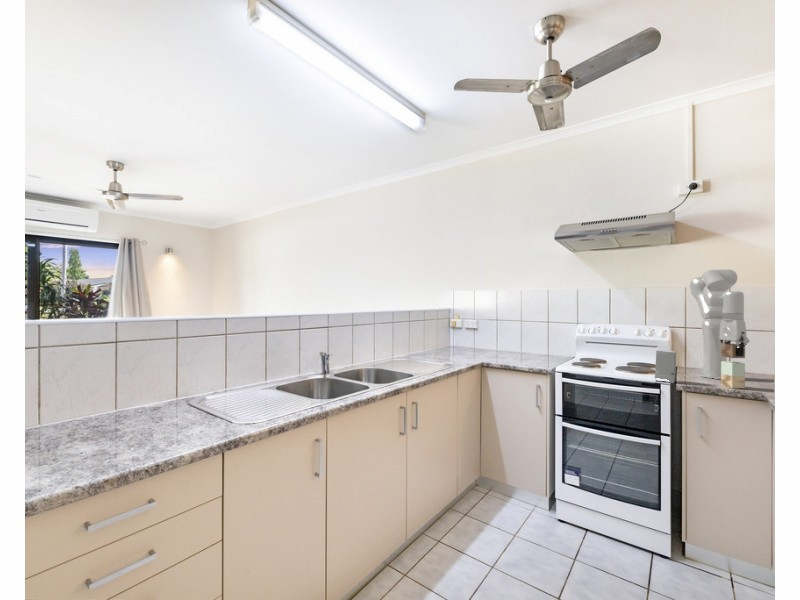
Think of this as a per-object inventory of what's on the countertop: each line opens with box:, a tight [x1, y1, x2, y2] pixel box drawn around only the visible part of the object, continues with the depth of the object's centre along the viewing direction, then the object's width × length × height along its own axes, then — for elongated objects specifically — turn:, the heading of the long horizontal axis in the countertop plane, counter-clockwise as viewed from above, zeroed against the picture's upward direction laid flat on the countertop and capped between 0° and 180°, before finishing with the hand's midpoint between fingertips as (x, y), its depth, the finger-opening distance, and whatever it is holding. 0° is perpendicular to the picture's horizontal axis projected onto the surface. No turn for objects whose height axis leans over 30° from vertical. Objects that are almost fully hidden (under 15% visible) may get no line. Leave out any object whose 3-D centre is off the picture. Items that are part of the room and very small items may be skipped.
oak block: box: [720, 374, 746, 389], centre depth 179 cm, size 6×6×6 cm
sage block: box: [721, 360, 746, 377], centre depth 179 cm, size 6×6×6 cm
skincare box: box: [654, 349, 677, 384], centre depth 192 cm, size 8×7×16 cm
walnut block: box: [721, 343, 746, 359], centre depth 179 cm, size 6×6×6 cm
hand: (733, 354), depth 179 cm, fingers closed on walnut block, 6 cm apart
